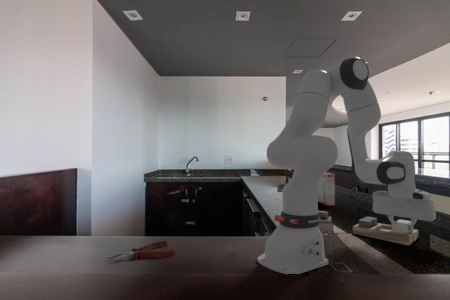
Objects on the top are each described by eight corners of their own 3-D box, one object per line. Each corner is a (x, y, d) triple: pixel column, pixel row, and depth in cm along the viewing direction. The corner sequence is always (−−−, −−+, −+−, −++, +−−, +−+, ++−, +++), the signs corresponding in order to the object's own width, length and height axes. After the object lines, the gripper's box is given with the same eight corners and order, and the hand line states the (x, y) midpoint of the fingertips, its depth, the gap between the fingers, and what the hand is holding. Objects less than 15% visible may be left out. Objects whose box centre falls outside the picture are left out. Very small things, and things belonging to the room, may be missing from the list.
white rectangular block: (404, 236, 95) (404, 225, 95) (392, 233, 98) (392, 223, 98) (411, 231, 101) (411, 221, 101) (400, 229, 104) (399, 219, 104)
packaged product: (293, 210, 131) (295, 207, 140) (293, 220, 131) (295, 216, 140) (331, 213, 124) (331, 209, 133) (331, 223, 124) (331, 219, 133)
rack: (409, 245, 92) (408, 230, 92) (352, 233, 107) (352, 220, 107) (418, 237, 101) (418, 223, 101) (365, 227, 116) (365, 215, 116)
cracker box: (335, 205, 165) (335, 173, 166) (326, 205, 165) (325, 173, 166) (326, 201, 179) (326, 171, 180) (318, 201, 179) (317, 172, 180)
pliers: (106, 257, 85) (107, 249, 85) (166, 246, 95) (166, 239, 95) (110, 270, 75) (110, 261, 75) (176, 257, 85) (176, 249, 85)
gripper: (369, 190, 105) (370, 224, 105) (432, 196, 90) (433, 236, 90) (375, 189, 110) (375, 221, 109) (436, 194, 94) (437, 232, 94)
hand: (402, 228), depth 99 cm, fingers closed on white rectangular block, 4 cm apart
